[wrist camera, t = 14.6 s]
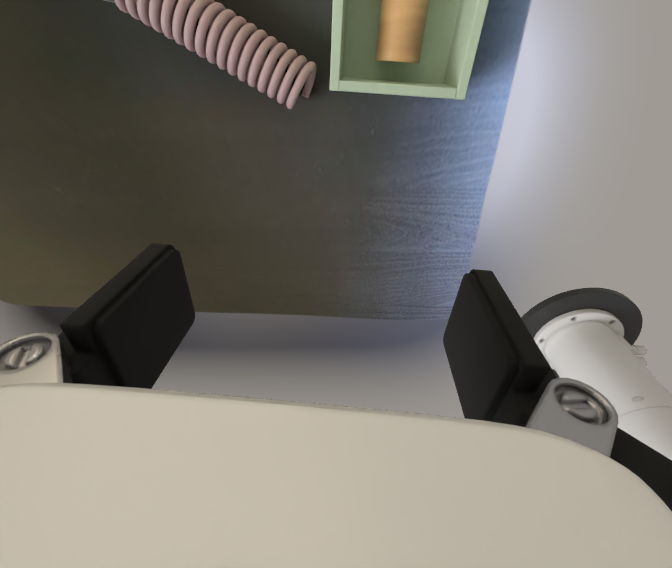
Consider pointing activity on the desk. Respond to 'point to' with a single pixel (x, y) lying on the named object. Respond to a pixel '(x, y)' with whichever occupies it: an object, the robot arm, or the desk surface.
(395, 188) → the desk surface
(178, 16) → the coil
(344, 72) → the bin
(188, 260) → the desk surface
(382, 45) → the wooden cylinder
